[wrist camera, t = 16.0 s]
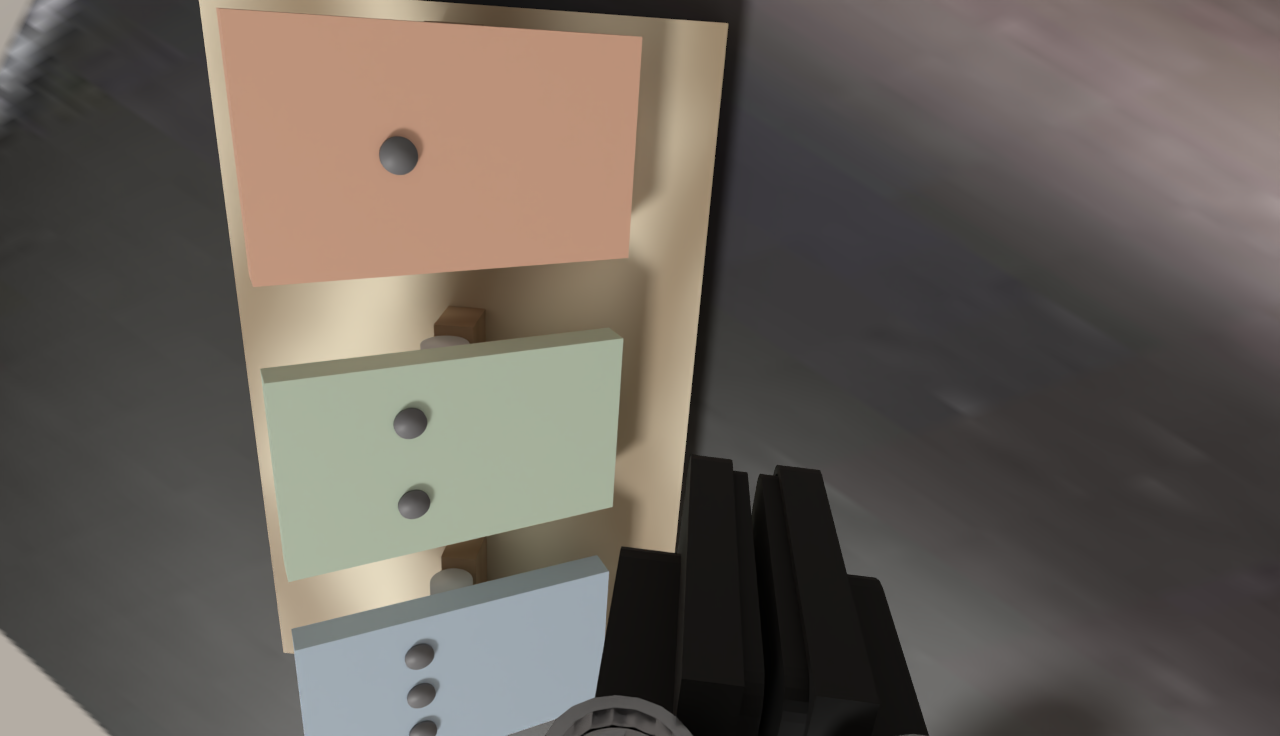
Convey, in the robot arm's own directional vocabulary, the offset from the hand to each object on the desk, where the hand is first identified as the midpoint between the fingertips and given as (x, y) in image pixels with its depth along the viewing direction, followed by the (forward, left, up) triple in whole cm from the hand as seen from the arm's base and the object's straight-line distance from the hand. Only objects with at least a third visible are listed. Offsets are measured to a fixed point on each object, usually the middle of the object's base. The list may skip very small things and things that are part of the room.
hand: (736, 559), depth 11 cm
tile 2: (+7, +5, -13) cm, 16 cm away
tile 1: (+7, -3, -13) cm, 15 cm away
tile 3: (+7, +14, -13) cm, 20 cm away
